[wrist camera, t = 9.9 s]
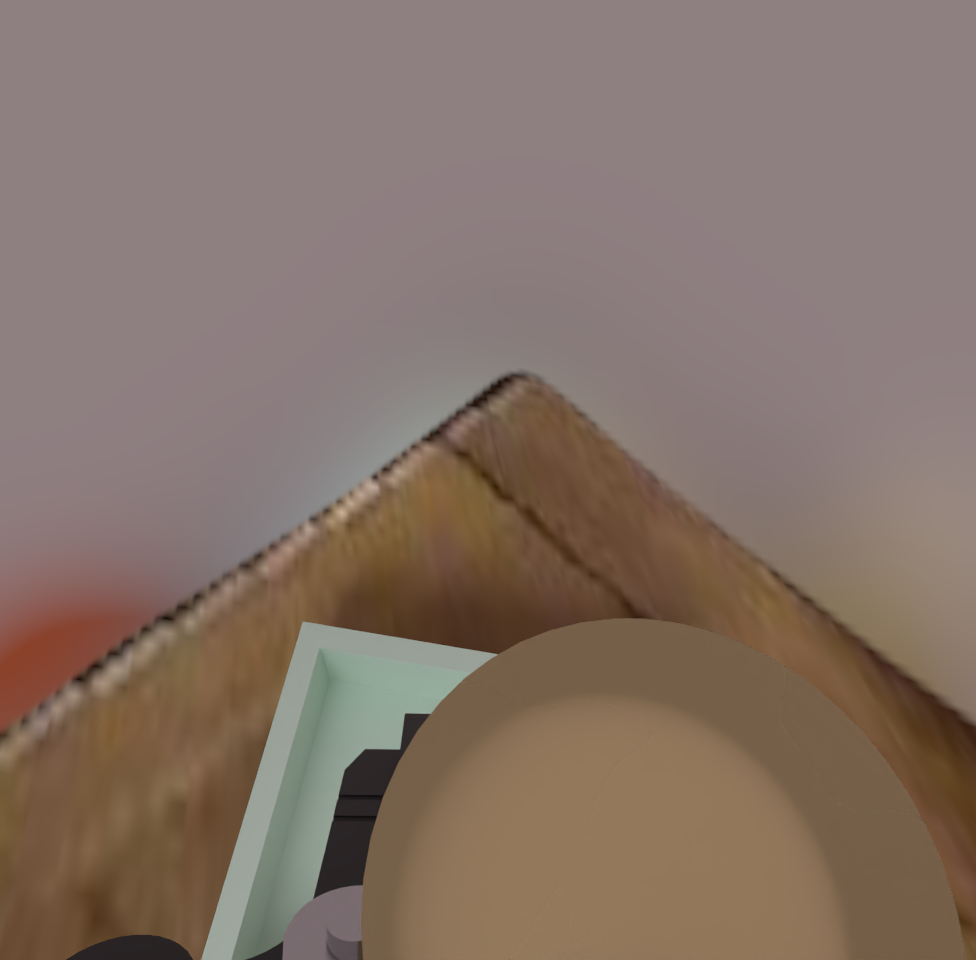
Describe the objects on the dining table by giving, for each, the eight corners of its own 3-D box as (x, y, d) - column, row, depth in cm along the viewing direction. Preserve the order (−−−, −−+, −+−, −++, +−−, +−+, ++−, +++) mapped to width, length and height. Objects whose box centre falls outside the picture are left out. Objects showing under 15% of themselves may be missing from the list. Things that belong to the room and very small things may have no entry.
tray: (211, 1039, 31) (175, 1044, 27) (316, 663, 39) (302, 621, 35) (659, 1124, 30) (695, 1142, 26) (671, 723, 38) (700, 688, 34)
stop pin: (384, 1080, 14) (277, 1223, 5) (435, 828, 17) (433, 576, 7) (622, 1132, 14) (1018, 1394, 4) (640, 870, 16) (929, 669, 7)
